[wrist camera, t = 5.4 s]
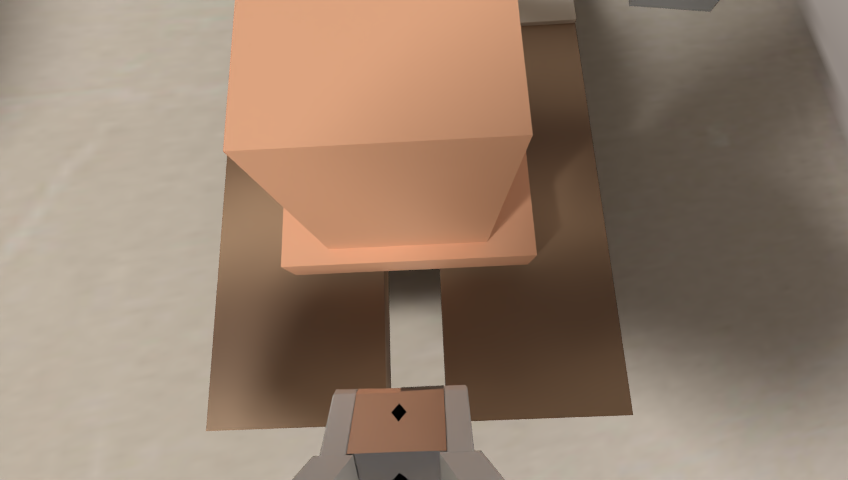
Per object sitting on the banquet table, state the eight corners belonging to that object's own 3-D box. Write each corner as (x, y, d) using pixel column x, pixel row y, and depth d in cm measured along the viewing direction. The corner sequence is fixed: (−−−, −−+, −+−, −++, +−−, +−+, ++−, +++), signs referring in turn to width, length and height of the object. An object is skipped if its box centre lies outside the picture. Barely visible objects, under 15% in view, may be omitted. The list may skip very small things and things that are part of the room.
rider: (520, 271, 16) (633, 159, 7) (307, 281, 17) (128, 185, 7) (506, 126, 18) (582, -133, 8) (311, 136, 18) (167, -105, 9)
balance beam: (582, 391, 22) (667, 414, 14) (271, 403, 23) (172, 433, 14) (522, -97, 30) (553, -270, 22) (292, -83, 31) (236, -246, 22)
